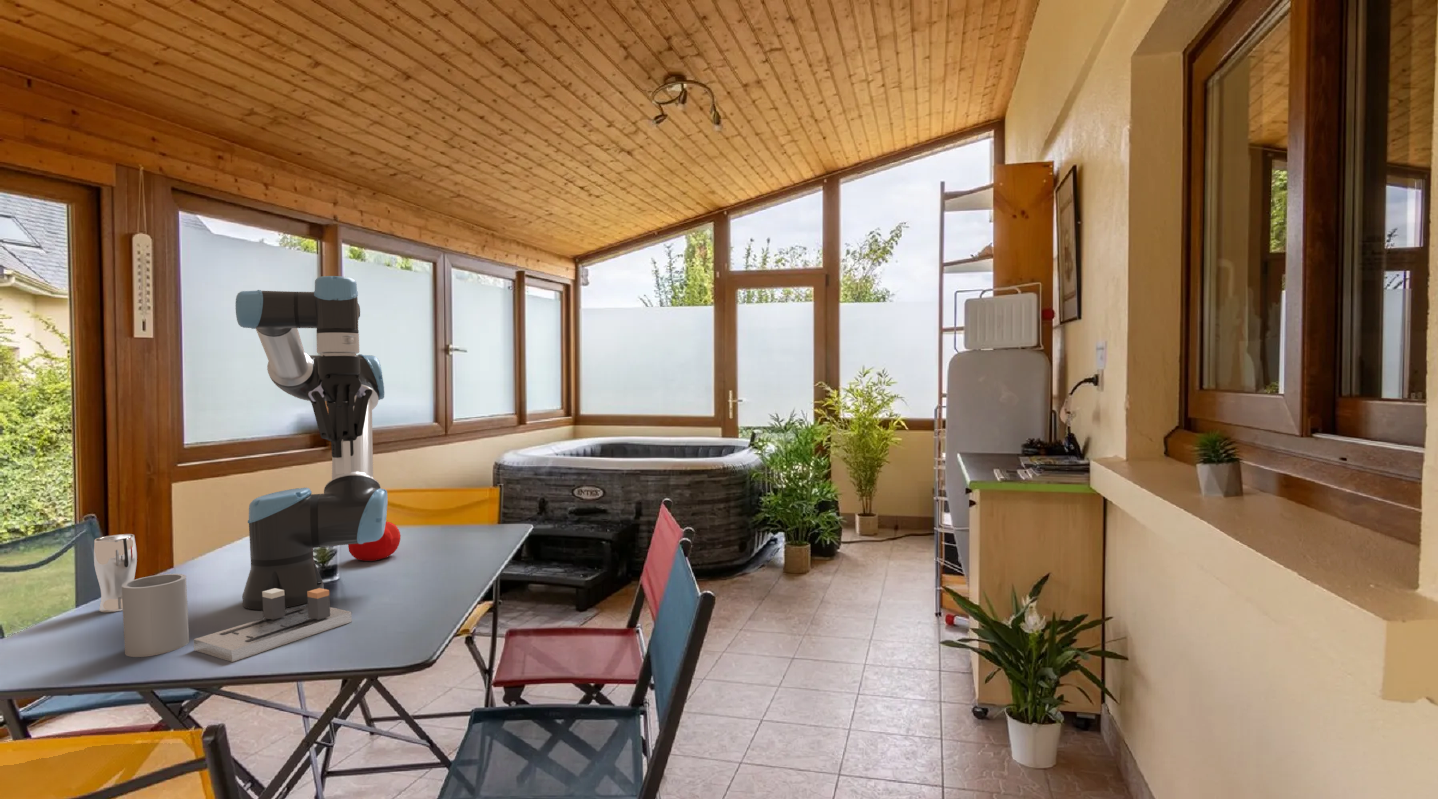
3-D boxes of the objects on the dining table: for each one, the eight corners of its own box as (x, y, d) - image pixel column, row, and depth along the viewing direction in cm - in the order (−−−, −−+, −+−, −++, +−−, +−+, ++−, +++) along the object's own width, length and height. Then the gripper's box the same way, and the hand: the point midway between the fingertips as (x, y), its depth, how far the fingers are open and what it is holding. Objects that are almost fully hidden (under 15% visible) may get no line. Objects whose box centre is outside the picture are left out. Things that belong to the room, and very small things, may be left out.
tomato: (343, 559, 194) (341, 520, 193) (393, 550, 202) (392, 513, 202) (357, 567, 185) (355, 526, 185) (408, 557, 194) (407, 518, 194)
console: (194, 650, 130) (193, 638, 130) (313, 613, 150) (313, 603, 150) (232, 662, 125) (231, 649, 125) (351, 621, 144) (351, 611, 144)
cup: (117, 660, 126) (113, 591, 126) (134, 642, 135) (131, 577, 134) (181, 651, 130) (178, 583, 130) (194, 634, 138) (191, 571, 138)
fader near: (308, 617, 140) (307, 591, 140) (320, 613, 142) (319, 588, 142) (318, 619, 138) (317, 593, 138) (330, 616, 141) (329, 590, 140)
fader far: (263, 617, 140) (262, 591, 140) (276, 613, 142) (274, 588, 142) (272, 619, 139) (271, 593, 139) (285, 616, 141) (284, 590, 141)
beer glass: (146, 605, 157) (142, 535, 157) (108, 615, 151) (104, 542, 151) (127, 601, 160) (124, 532, 160) (89, 611, 154) (85, 539, 153)
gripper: (319, 354, 139) (324, 479, 140) (380, 355, 151) (384, 470, 152) (295, 355, 143) (300, 476, 144) (356, 356, 154) (360, 468, 155)
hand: (343, 473), depth 148 cm, fingers closed
